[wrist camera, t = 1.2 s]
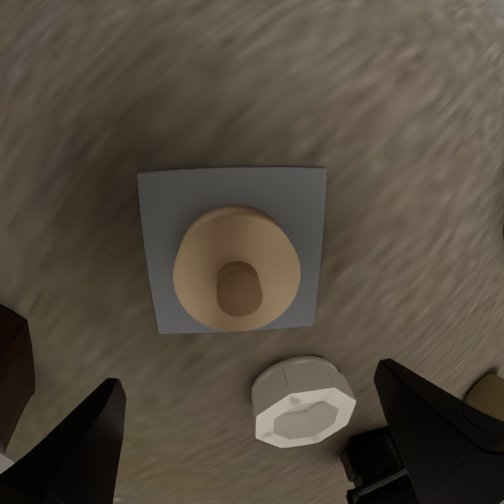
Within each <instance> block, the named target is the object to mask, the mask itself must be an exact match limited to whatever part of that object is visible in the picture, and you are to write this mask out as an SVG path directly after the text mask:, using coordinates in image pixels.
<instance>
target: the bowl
mask: <svg viewBox="0 0 504 504" xmlns="http://www.w3.org/2000/svg"><path fill="white" fill-rule="evenodd" d="M251 399H252V416H253V423H254V430H255V437H256V439H259V440H261V441H264V442H266V443H269V444H272V445H274V446H277V447H280V448H288V447H295V446H301V445H308V444H313V443H318V442H320V441H322V440H323V439H325V438H327V437H328V436H330V435H332V434H333V433H335V432H336V431H338V430H340V429H341V428H343V427H344V426H346V425H347V424H348V422H349V420H350V417H351V415H352V412H353V409H354V407H355V404H356V400H355V397H354V395H353V393H352V391H351V389H350V387H349V385H348V383H347V380H346V378H345V376H343V375H342V374H341V373H339V372H338V370H337V368H336V366H335V365H334V364H333V363H332V362H330V361H329V360H327V359H324V358H321V357H317V356H298V357H293V358H289V359H285V360H283V361H280V362H278V363H275V364H274V365H272V366H270V367H269V368H267V369H266V370H264V371H263V372H262V373H261V374H260V375H259V376H258V377H257V378H256V380H255V381H254V383H253V385H252V388H251Z"/></svg>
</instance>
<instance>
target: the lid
mask: <svg viewBox="0 0 504 504" xmlns="http://www.w3.org/2000/svg"><path fill="white" fill-rule="evenodd" d="M300 277H301V269H300V262H299V259H298V255H297V253H296V251H295V249H294V247H293V245H292V244H291V242H290V241H289V239H288V237H287V236H286V234H285V233H284V231H283V230H282V228H281V227H280V225H279V224H278V223H277V222H276V221H275V220H274V219H273V218H272V217H271V216H270V215H268V214H267V213H265V212H263V211H261V210H259V209H257V208H254V207H251V206H246V205H236V204H233V205H224V206H220V207H217V208H214V209H211V210H209V211H207V212H206V213H204V214H202V215H201V216H200V217H198V218H197V219H196V220H195V221H194V222H193V223H192V224H191V225H190V227H189V228H188V229H187V231H186V233H185V234H184V237H183V239H182V242H181V245H180V248H179V251H178V254H177V257H176V261H175V265H174V270H173V283H174V288H175V292H176V294H177V297H178V299H179V301H180V303H181V304H182V306H183V307H184V309H185V310H186V311H187V312H188V313H189V314H190V315H191V316H192V317H193V318H195V319H196V320H197V321H199V322H201V323H202V324H204V325H206V326H208V327H211V328H214V329H217V330H222V331H229V332H241V331H249V330H253V329H256V328H259V327H262V326H264V325H266V324H269V323H270V322H272V321H273V320H275V319H276V318H278V317H279V316H280V315H281V314H282V313H283V312H284V311H285V310H286V309H287V308H288V307H289V306H290V304H291V303H292V301H293V299H294V298H295V296H296V293H297V291H298V288H299V284H300Z"/></svg>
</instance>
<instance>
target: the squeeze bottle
mask: <svg viewBox="0 0 504 504" xmlns="http://www.w3.org/2000/svg"><path fill="white" fill-rule="evenodd" d="M466 402H467V404H469V405H470V406H472V407H474V408H476V409H478V410H480V411H482V412H484V413H486V414H488V415H490V416H492V417H495V418H497V419H499V420H501V421H504V379H503V378H501V377H499V376H497V375H495V374H492V373H491V374H488V375H486V376H485V377H483V378H482V379H481V380H480V381H479V382H478V383H477V384H476V385H475V386H474V387H473V388H472V389H471V391H470V392H469V394H468V395H467V398H466Z"/></svg>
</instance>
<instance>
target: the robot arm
mask: <svg viewBox="0 0 504 504" xmlns="http://www.w3.org/2000/svg"><path fill="white" fill-rule="evenodd" d="M374 383H375V386H376V389H377V393H378V396H379V399H380V403H381V406H382V410H383V413H384V416H385V418H386V421H387V423H388V425H389V427H386V428H383V429H379V430H376V431H372V432H368V433H365V434H361V435H357V436H353V437H351V438H350V440H349V442H348V444H347V446H346V448H345V450H344V453H343V455H342V457H341V459H340V460H341V462H342V463H343V466H344V469H345V472H346V475H347V478H348V481H350V482H353V483H354V486H355V488H354V489H350V490H348V491H347V495H346V498H347V501H348V504H504V421H501V420H499V419H497V418H495V417H492V416H490V415H488V414H486V413H484V412H482V411H480V410H478V409H476V408H474V407H472V406H470V405H469V404H467V403H465V402H463V401H461V400H460V399H458V398H456V397H455V396H453V395H451V394H450V393H448V392H446V391H445V390H443V389H441V388H439V387H438V386H436V385H434V384H433V383H431V382H429V381H428V380H426V379H424V378H423V377H421V376H419V375H418V374H416V373H414V372H412V371H411V370H409V369H407V368H406V367H404V366H402V365H401V364H399V363H398V362H396V361H394V360H393V359H390V358H388V359H383V360H380V361H379V363H378V366H377V369H376V372H375V375H374ZM125 406H126V395H125V392H124V390H123V387H122V385H121V382H120V380H119V379H117V378H107V379H105V380H104V381H103V382H102V383H101V384H100V385H99V386H98V387H97V388H96V389H95V390H94V391H93V392H92V393H91V394H90V395H89V396H88V397H87V398H86V399H85V400H83V401H82V402H81V403H80V404H79V405H78V406H77V407H76V408H75V409H74V410H73V411H72V412H71V413H70V414H69V415H68V416H67V417H66V418H65V419H64V420H63V421H62V422H61V423H60V424H59V425H57V426H56V427H55V428H54V429H53V430H52V431H51V432H50V433H49V434H48V435H47V438H46V437H45V438H44V439H43V440H42V441H41V442H40V443H39V444H38V445H37V446H35V447H34V448H33V449H32V450H31V451H30V452H29V453H27V454H26V455H25V456H24V457H23V458H21V459H20V460H19V461H17V462H16V463H15V464H13V465H12V466H11V467H9V468H8V469H7V470H6V471H4V472H3V473H2V474H0V504H113V498H114V490H115V483H116V477H117V470H118V464H119V458H120V452H121V447H122V441H123V433H124V418H125Z"/></svg>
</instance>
